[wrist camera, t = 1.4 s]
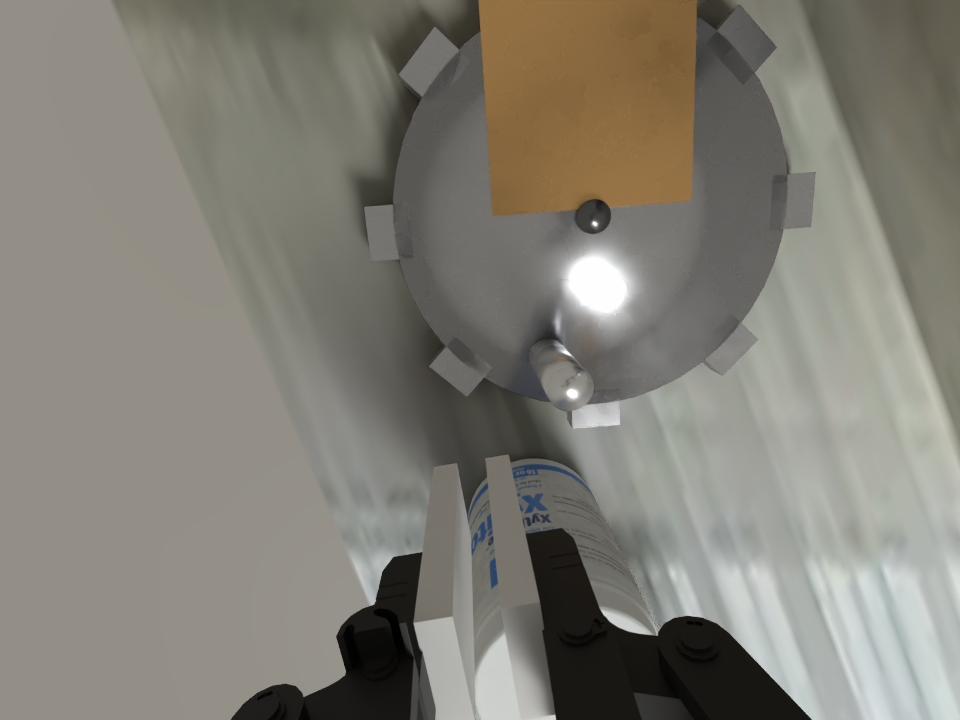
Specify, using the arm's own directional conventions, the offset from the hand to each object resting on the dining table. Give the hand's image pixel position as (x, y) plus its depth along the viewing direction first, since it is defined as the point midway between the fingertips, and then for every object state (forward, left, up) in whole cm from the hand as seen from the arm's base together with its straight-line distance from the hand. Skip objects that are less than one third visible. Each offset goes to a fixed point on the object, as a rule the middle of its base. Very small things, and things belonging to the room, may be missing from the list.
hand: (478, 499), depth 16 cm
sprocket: (-12, +1, -18) cm, 22 cm away
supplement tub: (+7, +11, -19) cm, 23 cm away
